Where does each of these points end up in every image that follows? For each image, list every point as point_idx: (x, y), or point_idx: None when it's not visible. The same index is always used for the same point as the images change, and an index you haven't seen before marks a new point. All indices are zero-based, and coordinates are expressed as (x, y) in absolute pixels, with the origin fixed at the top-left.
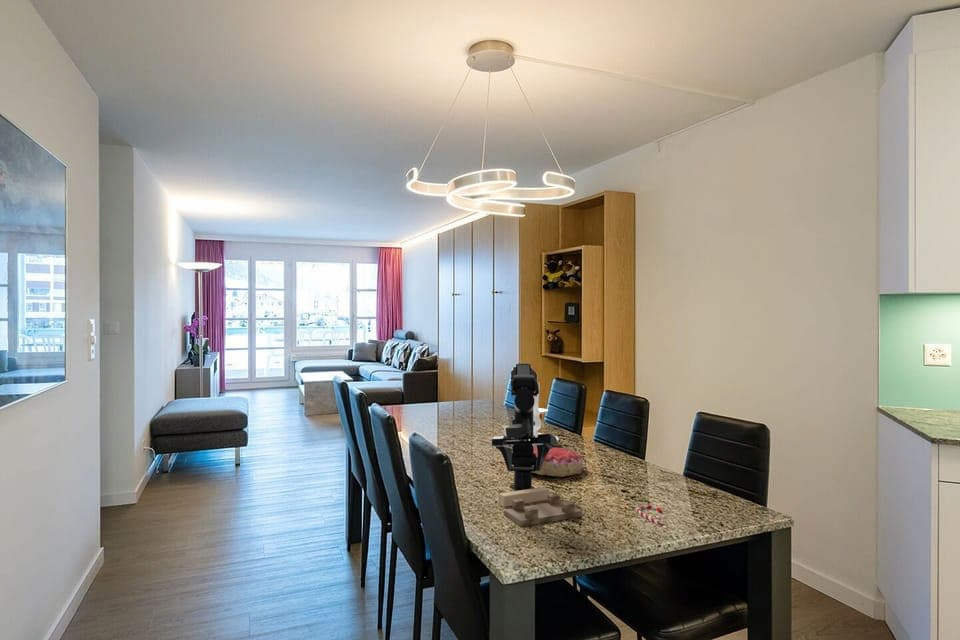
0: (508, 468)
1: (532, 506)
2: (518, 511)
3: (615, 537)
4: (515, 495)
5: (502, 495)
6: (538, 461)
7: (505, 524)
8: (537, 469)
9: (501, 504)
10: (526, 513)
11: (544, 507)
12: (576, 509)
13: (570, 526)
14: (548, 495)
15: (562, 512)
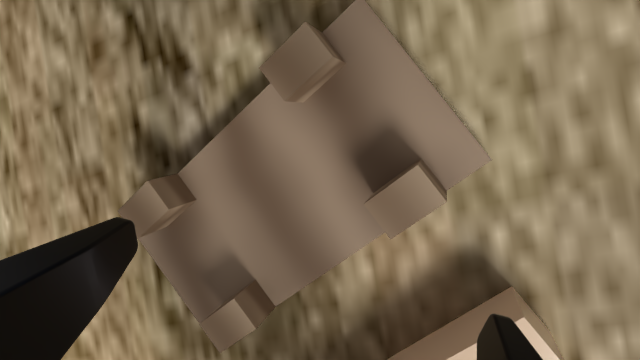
0: (509, 338)
1: (337, 245)
2: (398, 149)
3: (17, 23)
4: (448, 355)
5: (536, 333)
6: (19, 268)
7: (454, 7)
8: (120, 223)
9: (531, 309)
10: (329, 47)
11: (277, 240)
12: (148, 238)
13: (162, 86)
14: (250, 319)
15: (192, 186)
